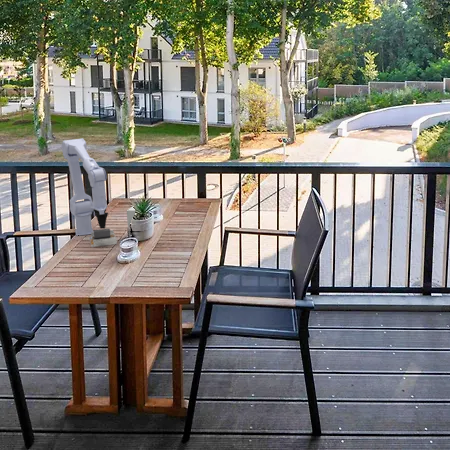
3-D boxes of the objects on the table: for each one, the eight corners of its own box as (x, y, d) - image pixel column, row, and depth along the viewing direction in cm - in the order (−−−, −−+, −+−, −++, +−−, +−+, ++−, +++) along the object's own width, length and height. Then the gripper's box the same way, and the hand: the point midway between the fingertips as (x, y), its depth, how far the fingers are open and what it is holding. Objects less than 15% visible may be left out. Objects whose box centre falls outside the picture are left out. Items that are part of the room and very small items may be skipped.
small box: (139, 232, 301) (137, 210, 298) (128, 232, 302) (126, 210, 299) (144, 227, 308) (143, 206, 305) (133, 227, 309) (132, 206, 306)
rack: (89, 238, 293) (88, 232, 292) (113, 236, 296) (113, 229, 295) (91, 247, 281) (91, 240, 280) (116, 244, 284) (116, 237, 283)
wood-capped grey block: (94, 240, 286) (93, 230, 285) (110, 239, 288) (109, 228, 286) (94, 242, 283) (93, 232, 282) (110, 241, 285) (109, 230, 284)
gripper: (88, 193, 286) (91, 223, 289) (91, 200, 272) (94, 231, 276) (104, 192, 287) (107, 221, 291) (107, 199, 274) (110, 229, 278)
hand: (102, 226), depth 284 cm, fingers open, 6 cm apart
